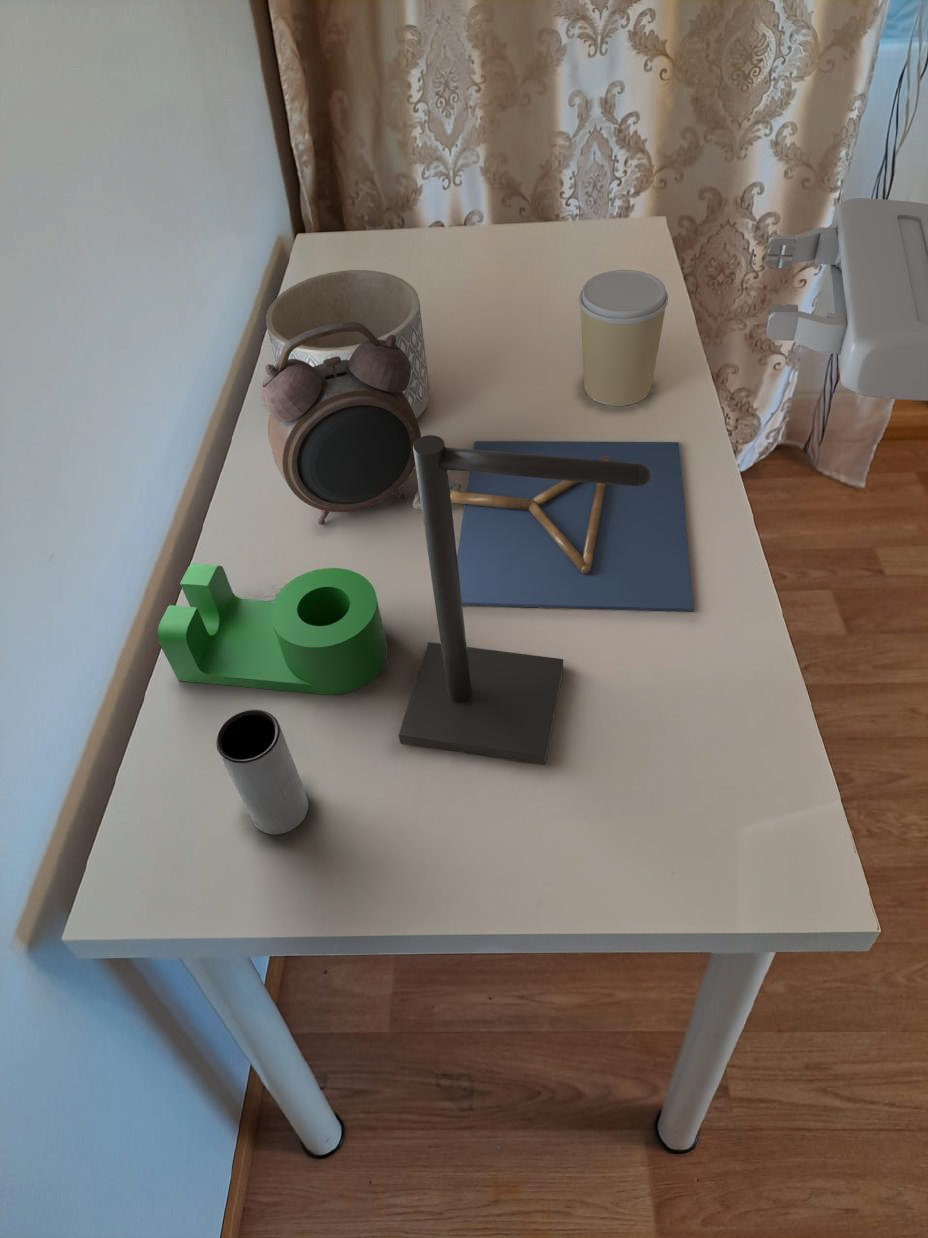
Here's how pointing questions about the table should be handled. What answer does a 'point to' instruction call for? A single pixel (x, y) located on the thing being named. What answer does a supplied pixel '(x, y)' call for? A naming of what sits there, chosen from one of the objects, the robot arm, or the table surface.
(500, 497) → the hanger
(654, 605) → the mat
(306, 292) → the planter
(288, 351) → the alarm clock
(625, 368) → the coffee cup
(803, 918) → the table surface
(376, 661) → the green bracket
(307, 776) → the table surface
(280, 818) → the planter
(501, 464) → the rail
